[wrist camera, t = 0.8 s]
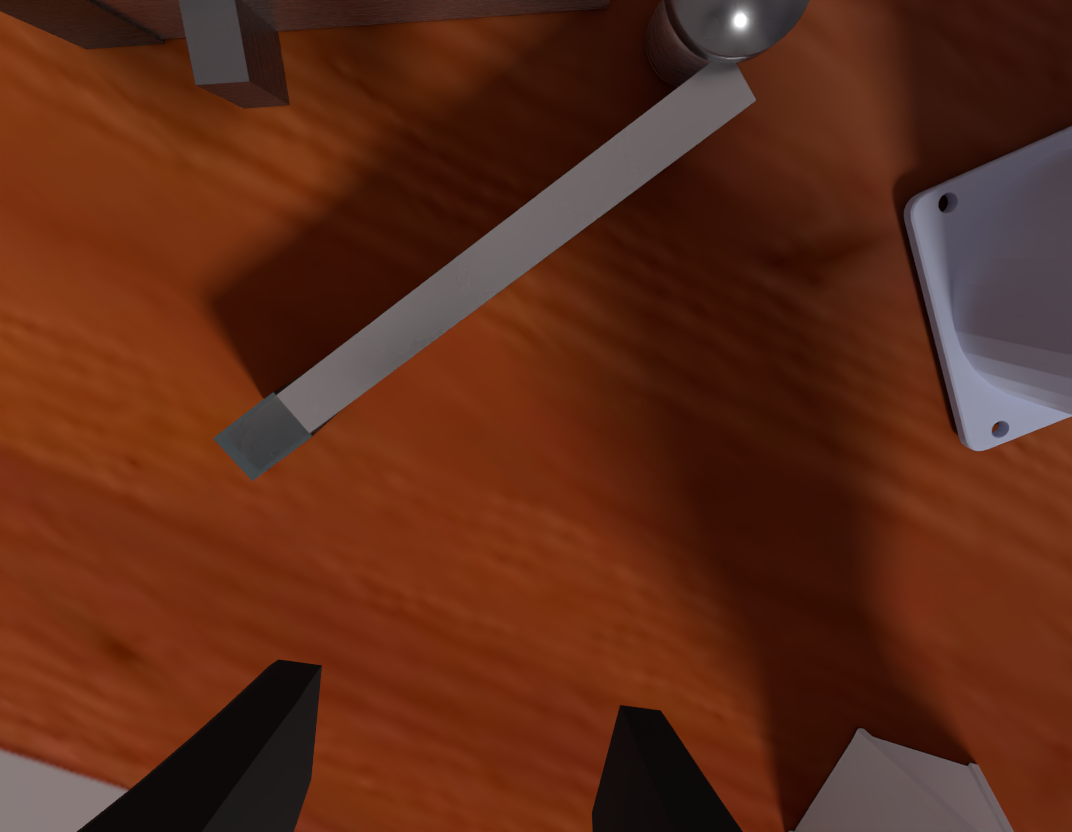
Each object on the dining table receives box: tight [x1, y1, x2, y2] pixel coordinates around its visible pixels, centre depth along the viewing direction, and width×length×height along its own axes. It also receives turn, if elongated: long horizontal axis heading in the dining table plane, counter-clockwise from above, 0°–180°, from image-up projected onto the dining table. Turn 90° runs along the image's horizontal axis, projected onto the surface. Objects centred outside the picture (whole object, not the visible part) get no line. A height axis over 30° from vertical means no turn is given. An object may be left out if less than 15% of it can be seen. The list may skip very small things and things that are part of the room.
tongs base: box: [0, 0, 809, 108], centre depth 13 cm, size 17×4×4 cm, turn 94°
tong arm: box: [213, 0, 756, 481], centre depth 15 cm, size 16×3×3 cm, turn 126°
